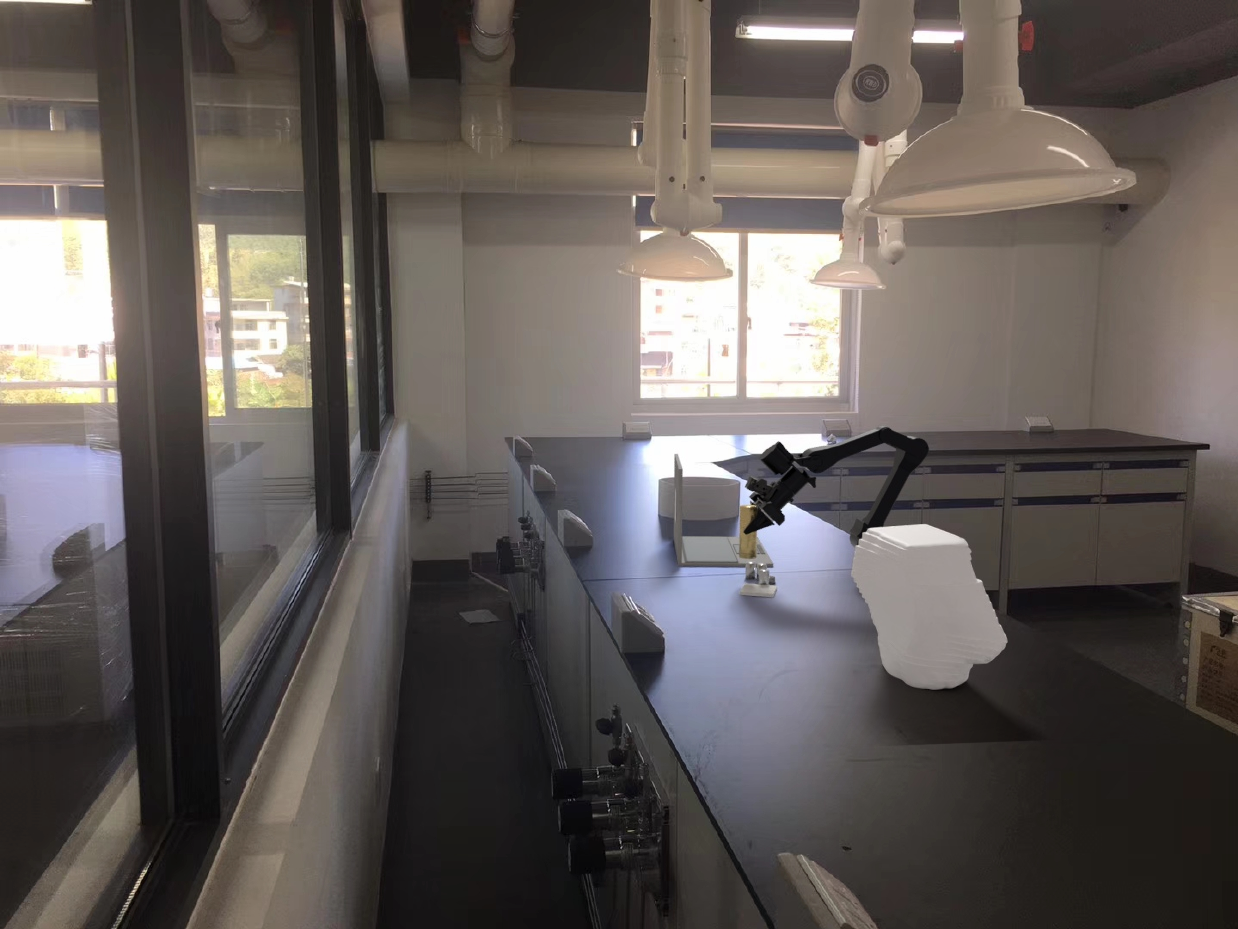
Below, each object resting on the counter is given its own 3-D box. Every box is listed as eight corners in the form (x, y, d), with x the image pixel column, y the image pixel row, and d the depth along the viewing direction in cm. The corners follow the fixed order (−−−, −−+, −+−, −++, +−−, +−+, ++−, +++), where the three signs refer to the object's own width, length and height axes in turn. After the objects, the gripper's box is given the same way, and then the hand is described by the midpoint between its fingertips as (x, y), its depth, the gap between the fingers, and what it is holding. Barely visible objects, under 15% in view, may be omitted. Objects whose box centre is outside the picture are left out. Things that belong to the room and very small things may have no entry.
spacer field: (777, 578, 239) (777, 563, 239) (772, 588, 230) (772, 572, 229) (746, 576, 242) (746, 561, 241) (739, 585, 232) (740, 570, 232)
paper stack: (941, 650, 184) (947, 522, 180) (1008, 702, 157) (1016, 554, 154) (837, 653, 182) (841, 524, 179) (887, 706, 155) (893, 556, 152)
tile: (777, 588, 229) (777, 585, 229) (773, 597, 222) (773, 594, 222) (744, 586, 232) (745, 583, 232) (739, 594, 224) (739, 591, 224)
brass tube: (757, 555, 236) (758, 505, 234) (755, 559, 232) (756, 508, 230) (740, 554, 237) (741, 504, 236) (737, 558, 233) (738, 507, 231)
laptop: (773, 568, 252) (775, 469, 249) (677, 567, 253) (678, 469, 249) (757, 541, 287) (759, 454, 283) (673, 540, 287) (673, 453, 284)
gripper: (757, 460, 241) (715, 503, 242) (772, 470, 222) (726, 516, 223) (787, 490, 242) (744, 532, 243) (804, 502, 224) (758, 547, 225)
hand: (742, 531), depth 234 cm, fingers closed on brass tube, 4 cm apart
